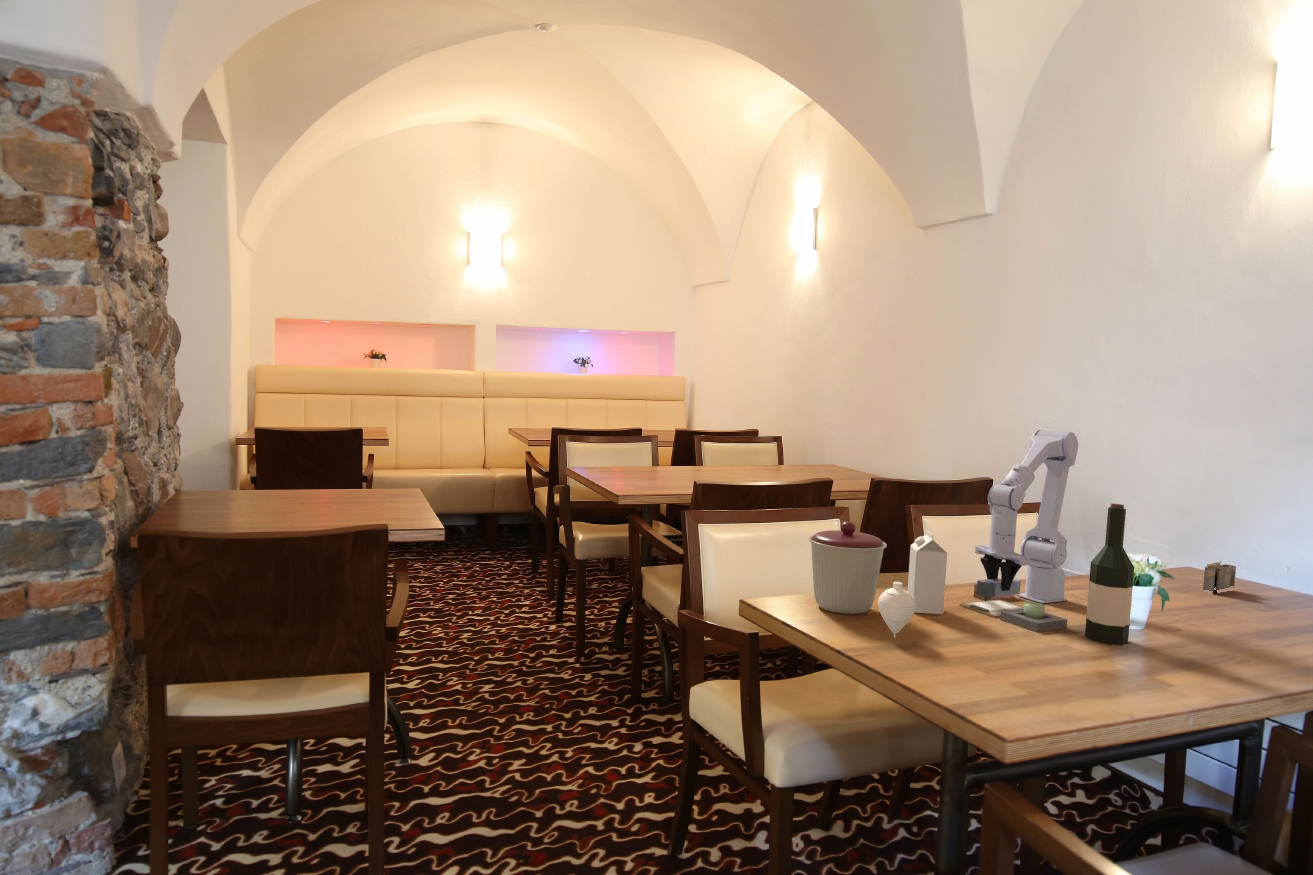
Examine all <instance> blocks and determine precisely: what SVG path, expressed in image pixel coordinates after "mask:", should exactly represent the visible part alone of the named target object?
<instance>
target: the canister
mask: <svg viewBox="0 0 1313 875" xmlns="http://www.w3.org/2000/svg"><path fill="white" fill-rule="evenodd" d="M856 528H857V527H856V525H855V523H854V522H852V521H844V522H842V523H841V524H840V530H823V531H822V530H821V531H819V532H816V533H814V535H811V536H809V537H808V541H809V543H811V544H810V545H811V564H812V565H811V566H812V582H813V593H814V598H815V601H816V603H817V605H818V606H819V608H821V609H822V610H826V611H828V612H831V613H836V614H844V615H859V614H860V615H861V614H865V613H867V612H869V610H871V609H872V607H873V604H874V602H875V598H876V597H875V596H876V592H877V588H878V587H877V586H878V582H879V577H880V572H881V571H880V570H881V565H882V560H883V554H884V549H886V548H887V546H888V545H887V543H886V542H885V541H882V540H881V538H879V537H877V536H875V535H872V534H869V533H865V532H861V531H856Z"/></svg>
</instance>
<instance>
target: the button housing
mask: <svg viewBox="0 0 1313 875" xmlns="http://www.w3.org/2000/svg"><path fill="white" fill-rule="evenodd" d="M1023 613H1024V609H1016V610H1008V611H1001V616H1000V617H999V620H1000V621H1004V622H1006V623H1009V624H1011V623H1012V625H1015V626H1017V627H1020V628H1023V629H1027V630H1028V631H1029V630H1030V631H1032V632H1035V633H1039V632H1040V633H1041V632H1048V631H1054V630H1062V629H1067V628H1068V619H1067V618H1064V617H1061V616H1057V615H1054V614H1052V613H1048V612H1045V613H1044V619H1036V620H1035V619H1032V618H1029V617H1026V616H1023Z"/></svg>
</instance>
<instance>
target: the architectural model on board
mask: <svg viewBox="0 0 1313 875" xmlns="http://www.w3.org/2000/svg"><path fill="white" fill-rule="evenodd" d="M1222 562H1223V561H1219V562H1218V561H1217V562H1213V563H1207V564H1206V566H1204V575H1203V583H1202V584H1203V586H1202V591H1203V590H1209V591H1214V588H1215V587H1216V590H1220V589H1225V588H1229V587H1230V586H1234V587H1235V586H1236V585H1235V584H1236V574H1237V572H1236V571H1237V565H1232V564H1227V563H1225V564H1222ZM1214 592H1215V591H1214Z"/></svg>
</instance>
